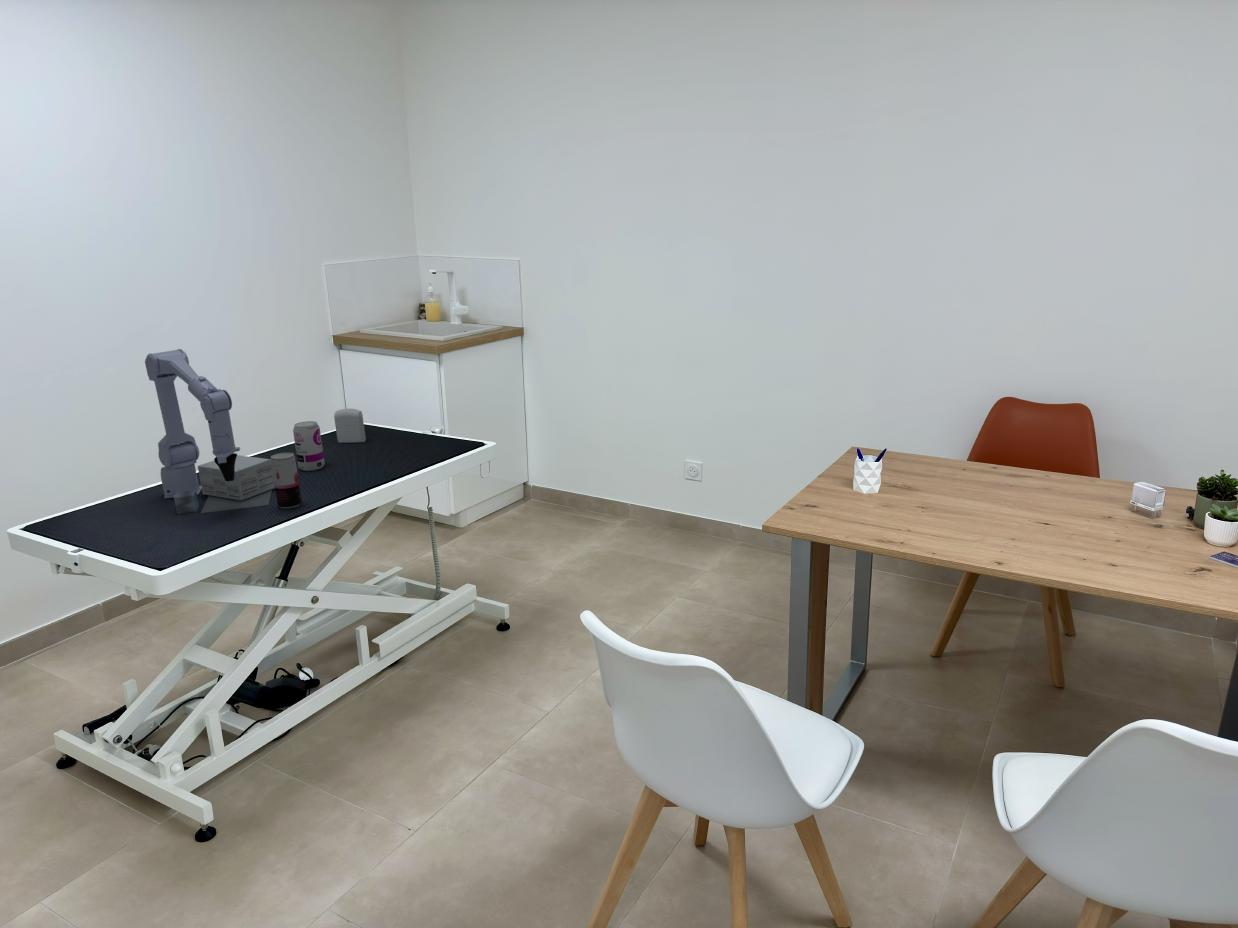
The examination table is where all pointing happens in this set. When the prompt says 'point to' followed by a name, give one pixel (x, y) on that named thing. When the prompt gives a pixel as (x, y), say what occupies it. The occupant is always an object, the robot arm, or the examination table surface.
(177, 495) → the slate cube
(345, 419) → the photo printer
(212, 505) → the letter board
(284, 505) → the beverage can
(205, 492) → the supplement box
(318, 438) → the supplement can
